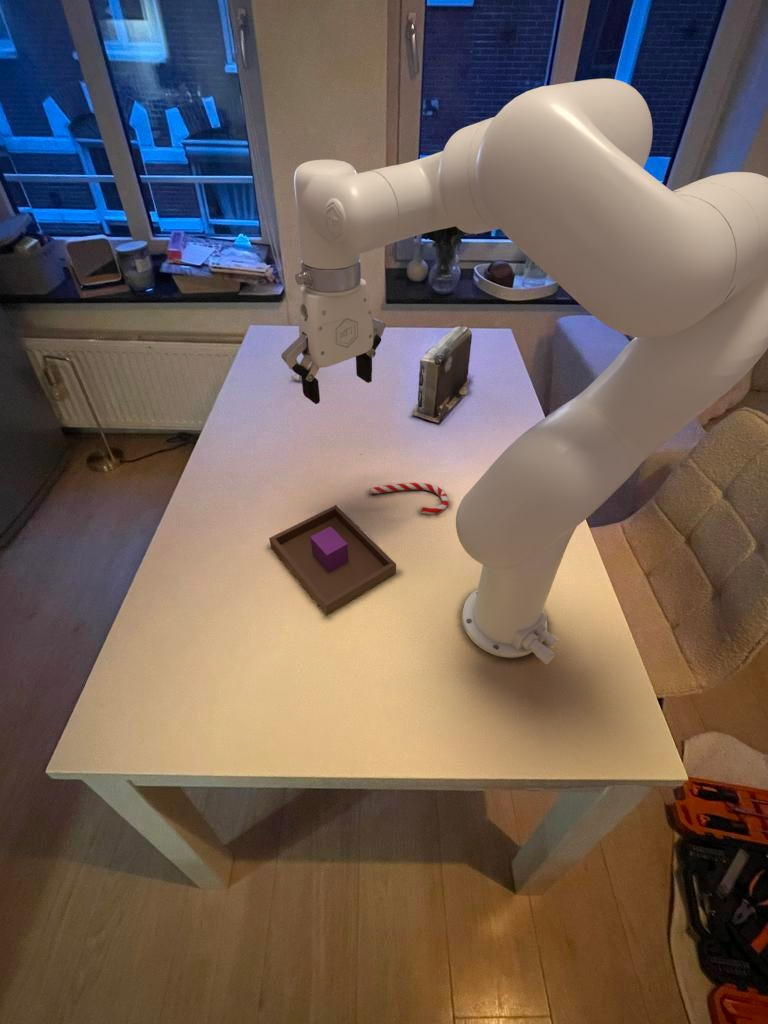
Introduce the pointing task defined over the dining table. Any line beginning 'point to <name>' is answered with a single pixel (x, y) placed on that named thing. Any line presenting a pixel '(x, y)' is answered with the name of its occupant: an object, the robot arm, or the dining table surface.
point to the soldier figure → (299, 375)
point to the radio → (444, 375)
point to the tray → (344, 581)
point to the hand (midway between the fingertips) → (339, 389)
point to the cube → (329, 549)
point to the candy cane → (418, 487)
